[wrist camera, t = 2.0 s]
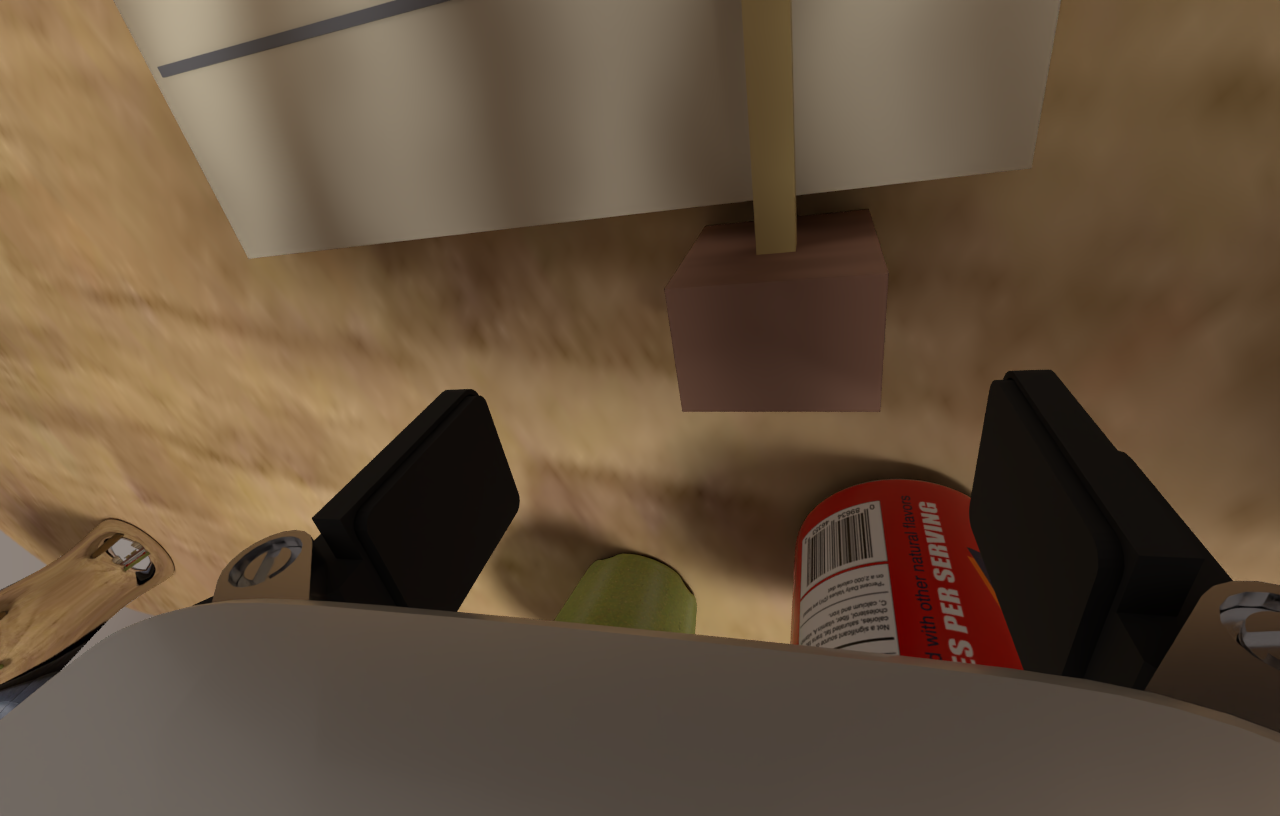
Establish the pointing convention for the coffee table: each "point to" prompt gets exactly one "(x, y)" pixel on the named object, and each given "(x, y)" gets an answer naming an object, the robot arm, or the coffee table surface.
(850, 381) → the cube with stick handle
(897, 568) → the soda can
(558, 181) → the board
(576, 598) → the plant pot
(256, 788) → the robot arm
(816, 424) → the coffee table surface
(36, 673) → the beer glass
